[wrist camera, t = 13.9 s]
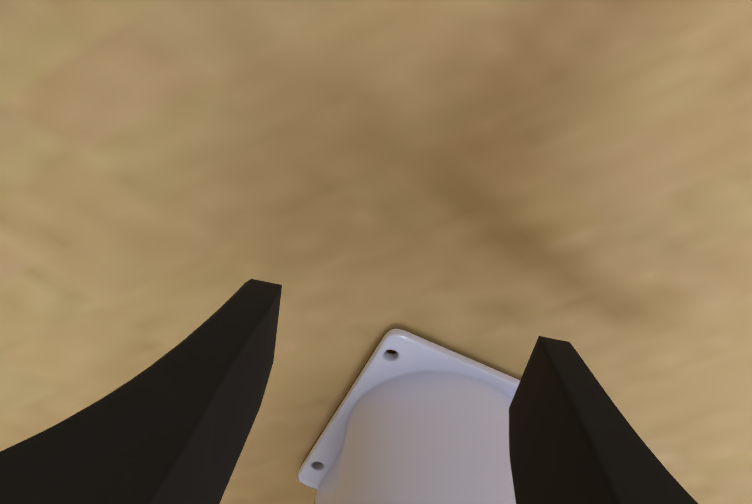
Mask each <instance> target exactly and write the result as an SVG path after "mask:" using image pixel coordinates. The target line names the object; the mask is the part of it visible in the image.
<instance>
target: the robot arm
mask: <svg viewBox="0 0 752 504" xmlns="http://www.w3.org/2000/svg"><path fill="white" fill-rule="evenodd" d="M281 289H282V285H279V284H274V283H269V282H264V281H259V280H254V279H251V280H249V281H247V282H246V283H245V284H244V285H243V286H242V287H241V288H240V289H239V290H238V291H237V292H236V293H235V294H234V295H233V296H232V297H231V298H230V299H229V300H228V301H227V302H226V303H225V304H224V305H223V306H222V307H221V308H220V309H218V310H217V311H216V312H215V313H214V314H213V315H212V316H211V317H210V318H209V319H208V320H206V321H205V322H204V323H203V324H202V325H201V326H200V327H198V328H197V329H196V330H195V331H194V332H193V333H192V334H190V335H189V336H188V337H187V338H186V339H185V340H183V341H182V342H181V343H180V344H178V345H177V346H176V347H175V348H173V349H172V350H171V351H169V352H168V353H167V354H165V355H164V356H163V357H162V358H160V359H159V360H158V361H156V362H155V363H154V364H153V365H151V366H150V367H148V368H147V369H146V370H144V371H143V372H141V373H140V374H139V375H137V376H136V377H134V378H133V379H131V380H130V381H128V382H127V383H126V384H124V385H122V386H121V387H119V388H118V389H116V390H115V391H113V392H112V393H110V394H108V395H107V396H105V397H104V398H102V399H100V400H99V401H97V402H95V403H94V404H92V405H90V406H88V407H87V408H85V409H83V410H81V411H80V412H78V413H76V414H75V415H73V416H71V417H69V418H68V419H66V420H64V421H62V422H60V423H58V424H56V425H55V426H53V427H51V428H49V429H47V430H45V431H43V432H41V433H39V434H37V435H35V436H32V437H30V438H28V439H26V440H24V441H22V442H20V443H18V444H16V445H14V446H12V447H9V448H7V449H5V450H3V451H1V452H0V504H219V503H220V501H221V498H222V496H223V494H224V491H225V489H226V487H227V484H228V482H229V479H230V477H231V475H232V472H233V470H234V468H235V465H236V463H237V461H238V458H239V456H240V454H241V451H242V449H243V446H244V444H245V442H246V439H247V437H248V435H249V432H250V430H251V427H252V425H253V423H254V420H255V418H256V415H257V413H258V411H259V408H260V405H261V402H262V399H263V395H264V392H265V389H266V385H267V382H268V378H269V375H270V371H271V368H272V364H273V359H274V350H275V341H276V333H277V324H278V315H279V306H280V298H281ZM386 350H394V351H396V353H393V354H392V353H388V352H387V351H386ZM298 480H299V481H300V482H301V483H302V484H304V485H306V486H309V487H311V488H314V489H317V494H316V499H315V504H698V503H697V502H696V501H695V500H694V499H693V498H692V497H691V496H690V495H689V494H688V493H687V492H686V491H685V490H684V489H683V487H682V486H681V485H680V484H679V483H678V482H677V481H676V480H675V479H674V478H673V476H672V475H671V474H670V473H669V472H668V471H667V470H666V468H665V467H664V466H663V465H662V464H661V462H660V461H659V460H658V459H657V458H656V456H655V455H654V454H653V453H652V452H651V451H650V449H649V448H648V447H647V446H646V445H645V443H644V442H643V441H642V440H641V438H640V437H639V436H638V435H637V433H636V432H635V431H634V430H633V428H632V427H631V426H630V424H629V423H628V422H627V420H626V419H625V418H624V417H623V415H622V414H621V413H620V411H619V410H618V409H617V407H616V406H615V404H614V403H613V402H612V400H611V399H610V398H609V396H608V395H607V394H606V392H605V391H604V389H603V388H602V387H601V385H600V384H599V382H598V381H597V380H596V378H595V377H594V375H593V374H592V373H591V371H590V370H589V368H588V367H587V366H586V364H585V363H584V361H583V360H582V358H581V357H580V356H579V354H578V353H577V352H576V350H575V349H574V347H573V346H572V345H571V344H570V342H566V341H561V340H556V339H551V338H546V337H541V336H539V337H538V340H537V342H536V345H535V347H534V349H533V352H532V354H531V356H530V359H529V361H528V364H527V366H526V368H525V371H524V373H523V376H522V378H521V380H518V379H516V378H514V377H511V376H509V375H507V374H504V373H502V372H500V371H497V370H495V369H493V368H491V367H488V366H486V365H484V364H481V363H479V362H477V361H474V360H472V359H470V358H467V357H465V356H463V355H460V354H458V353H456V352H453V351H451V350H449V349H446V348H444V347H442V346H439V345H437V344H435V343H432V342H430V341H428V340H426V339H423V338H421V337H419V336H416V335H414V334H412V333H409V332H407V331H405V330H401V329H392V330H390V331H388V332H387V333H386V334H385V335H384V337H383V338H382V340H381V342H380V343H379V345H378V346H377V348H376V349H375V351H374V353H373V354H372V356H371V357H370V359H369V360H368V362H367V364H366V365H365V367H364V368H363V370H362V371H361V373H360V375H359V376H358V378H357V379H356V381H355V382H354V384H353V386H352V387H351V389H350V390H349V392H348V393H347V395H346V397H345V398H344V400H343V401H342V403H341V404H340V406H339V408H338V409H337V411H336V412H335V414H334V415H333V417H332V419H331V420H330V422H329V423H328V425H327V426H326V428H325V430H324V431H323V433H322V434H321V436H320V437H319V439H318V441H317V442H316V444H315V445H314V447H313V448H312V450H311V452H310V453H309V455H308V456H307V458H306V459H305V461H304V463H303V464H302V466H301V467H300V469H299V473H298Z"/></svg>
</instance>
